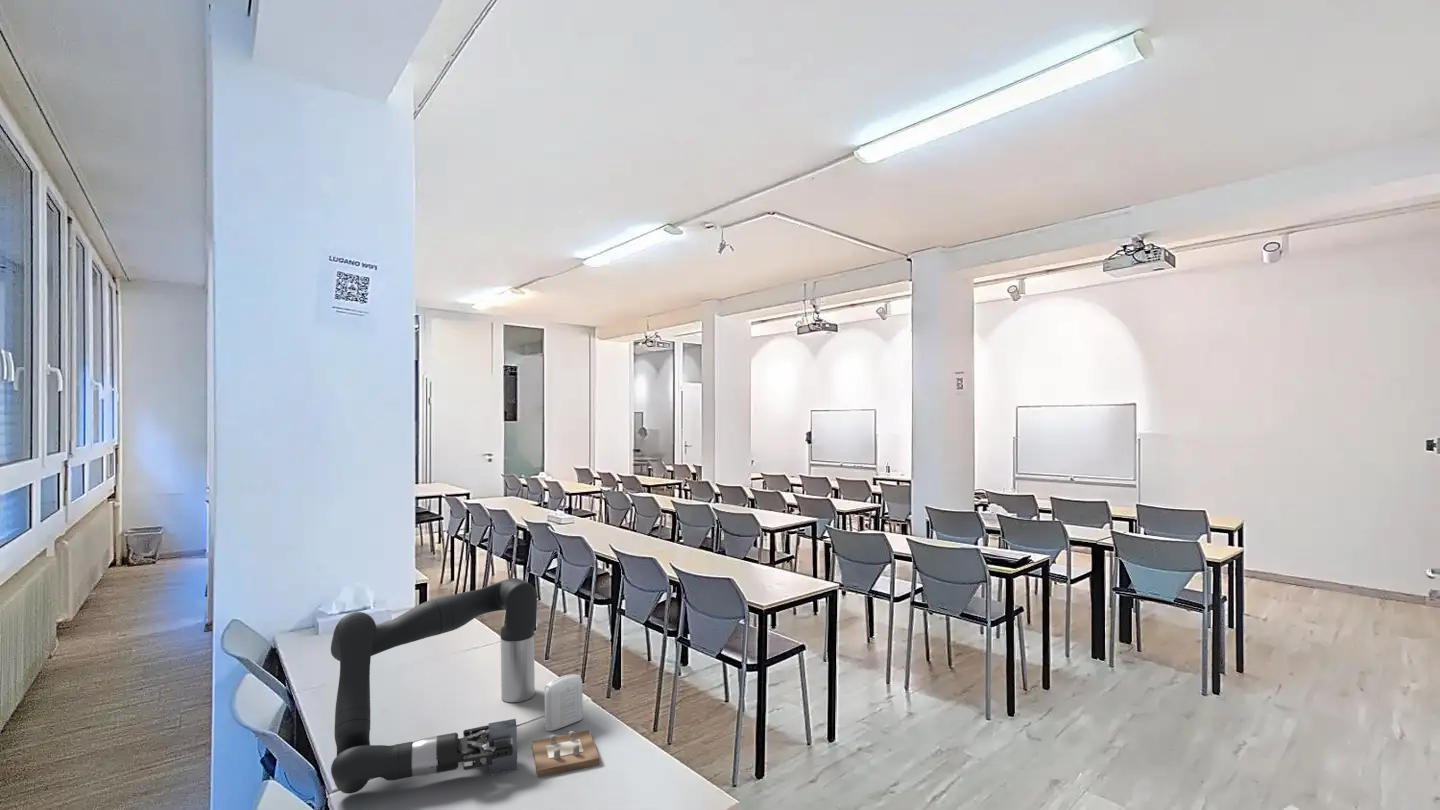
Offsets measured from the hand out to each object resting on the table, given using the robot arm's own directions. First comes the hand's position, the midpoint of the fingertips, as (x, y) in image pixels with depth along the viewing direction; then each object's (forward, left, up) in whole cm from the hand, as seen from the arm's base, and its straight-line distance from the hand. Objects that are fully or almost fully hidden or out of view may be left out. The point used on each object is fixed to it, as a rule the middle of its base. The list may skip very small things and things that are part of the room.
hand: (511, 740), depth 153 cm
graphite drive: (0, -2, -6) cm, 6 cm away
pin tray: (0, +12, -6) cm, 14 cm away
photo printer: (-16, +14, -6) cm, 22 cm away
